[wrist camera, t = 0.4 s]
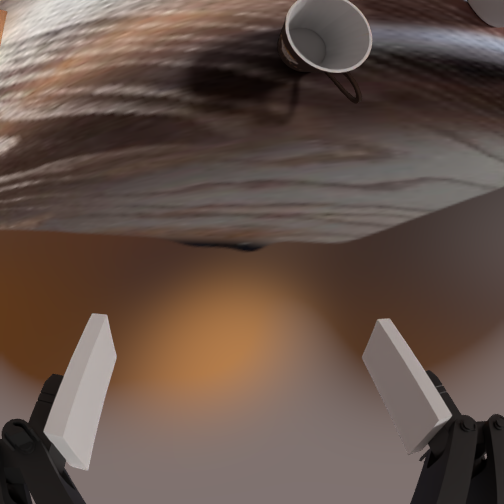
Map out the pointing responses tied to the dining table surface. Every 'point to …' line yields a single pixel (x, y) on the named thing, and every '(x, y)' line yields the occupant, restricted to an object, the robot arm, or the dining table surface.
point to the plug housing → (2, 22)
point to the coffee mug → (326, 39)
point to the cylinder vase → (489, 11)
